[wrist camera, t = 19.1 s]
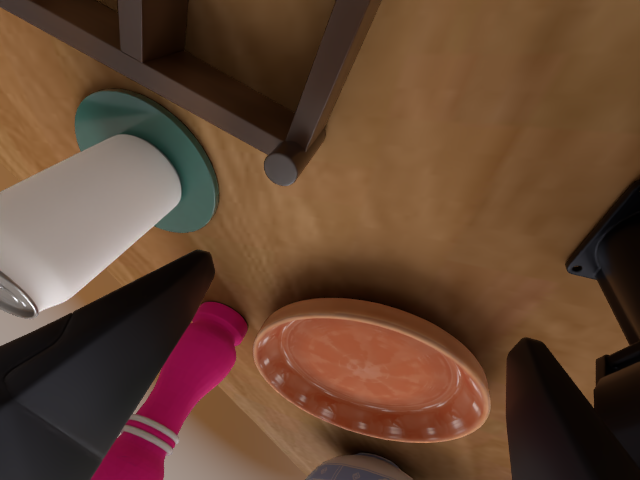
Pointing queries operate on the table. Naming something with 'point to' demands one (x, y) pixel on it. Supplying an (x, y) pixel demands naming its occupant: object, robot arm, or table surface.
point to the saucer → (373, 370)
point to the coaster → (164, 133)
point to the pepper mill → (175, 394)
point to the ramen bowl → (358, 469)
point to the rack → (210, 69)
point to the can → (79, 220)
